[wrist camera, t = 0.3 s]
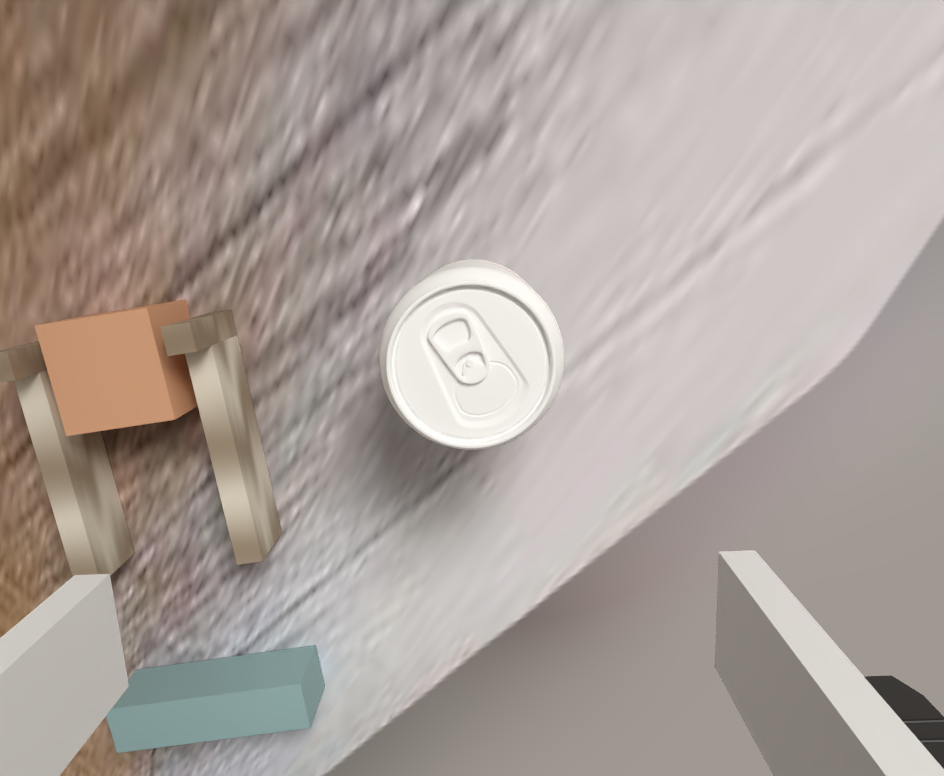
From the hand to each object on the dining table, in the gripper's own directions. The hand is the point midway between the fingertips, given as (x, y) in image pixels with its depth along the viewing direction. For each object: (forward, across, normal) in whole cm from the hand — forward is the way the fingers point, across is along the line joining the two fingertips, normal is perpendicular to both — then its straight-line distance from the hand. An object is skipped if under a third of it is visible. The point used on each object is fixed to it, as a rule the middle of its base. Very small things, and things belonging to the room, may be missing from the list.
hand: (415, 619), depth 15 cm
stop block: (+27, -16, -20) cm, 37 cm away
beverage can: (+27, +1, +3) cm, 27 cm away
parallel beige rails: (+27, -18, -3) cm, 32 cm away
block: (+27, -18, +2) cm, 33 cm away
